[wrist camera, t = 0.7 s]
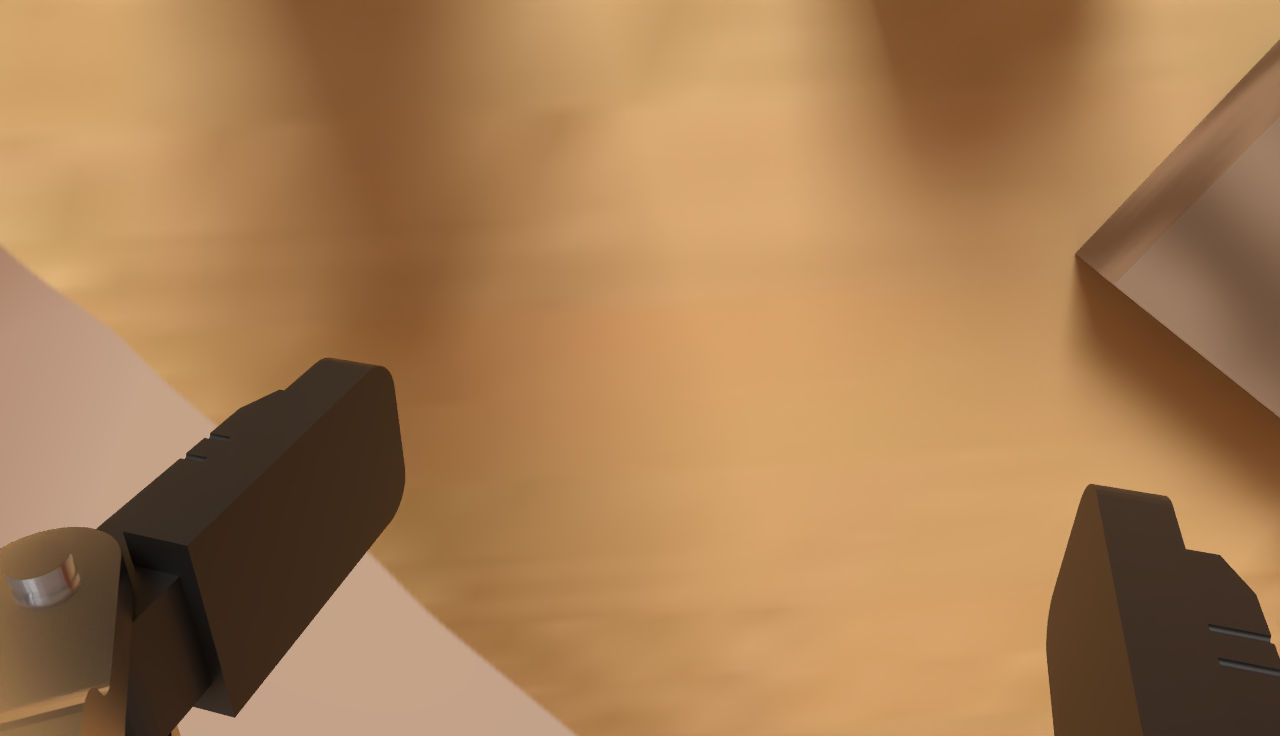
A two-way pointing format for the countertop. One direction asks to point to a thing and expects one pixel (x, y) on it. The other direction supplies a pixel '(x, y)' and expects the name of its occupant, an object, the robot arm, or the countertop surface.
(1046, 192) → the countertop surface
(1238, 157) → the bench block
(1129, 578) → the robot arm
